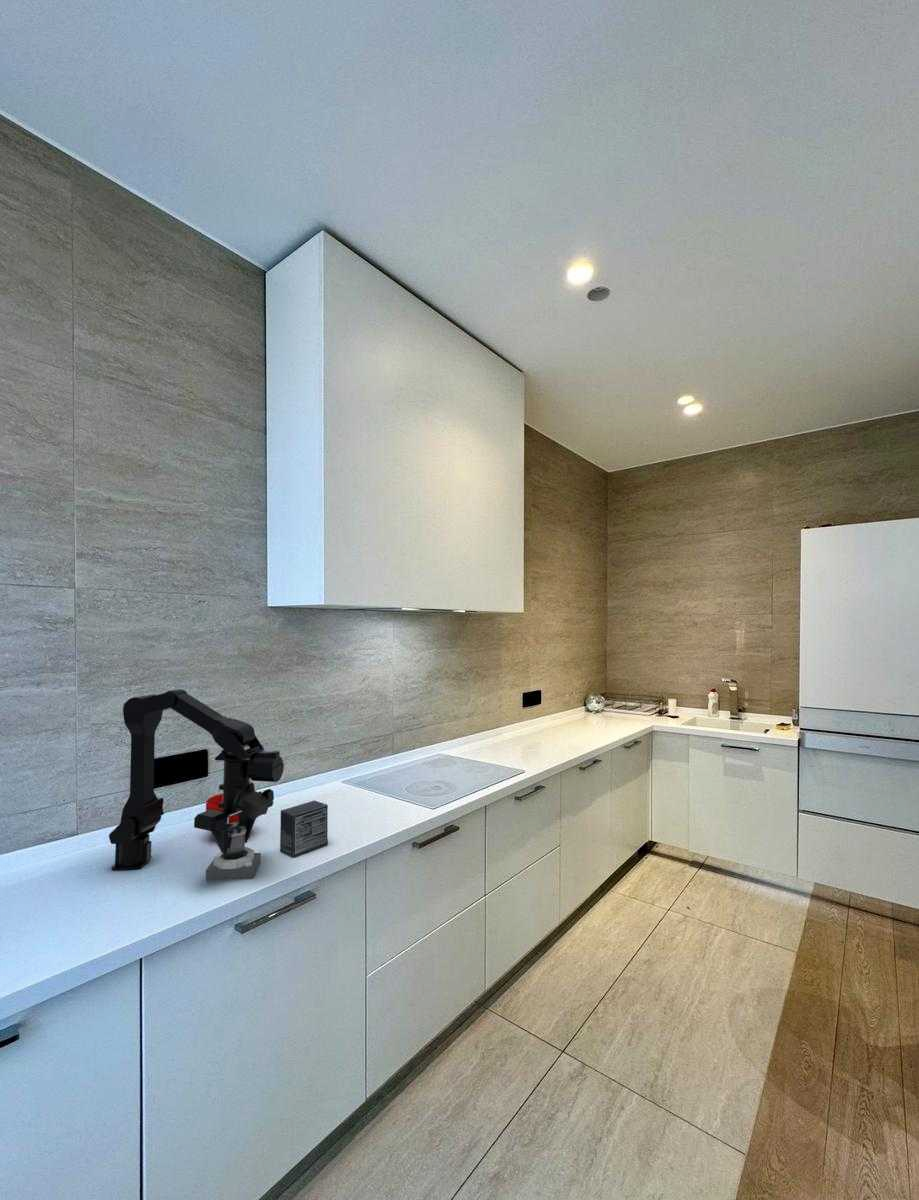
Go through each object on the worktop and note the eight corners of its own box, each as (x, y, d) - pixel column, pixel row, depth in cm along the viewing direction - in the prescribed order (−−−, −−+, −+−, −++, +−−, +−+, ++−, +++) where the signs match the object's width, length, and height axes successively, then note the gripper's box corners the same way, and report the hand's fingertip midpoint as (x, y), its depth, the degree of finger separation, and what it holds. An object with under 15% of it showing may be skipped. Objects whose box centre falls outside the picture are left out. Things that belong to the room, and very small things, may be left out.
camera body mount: (205, 881, 120) (205, 863, 120) (216, 865, 128) (217, 848, 129) (252, 879, 122) (252, 860, 122) (260, 863, 130) (260, 846, 130)
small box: (313, 838, 145) (314, 799, 145) (328, 845, 141) (329, 804, 141) (278, 851, 137) (279, 809, 137) (293, 858, 133) (294, 815, 133)
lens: (233, 866, 122) (235, 830, 123) (218, 862, 124) (219, 827, 124) (249, 858, 126) (250, 823, 127) (234, 855, 128) (235, 820, 129)
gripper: (232, 795, 114) (229, 871, 114) (291, 773, 132) (289, 838, 131) (193, 788, 119) (190, 861, 118) (255, 768, 136) (253, 831, 135)
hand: (234, 847), depth 125 cm, fingers open, 6 cm apart
